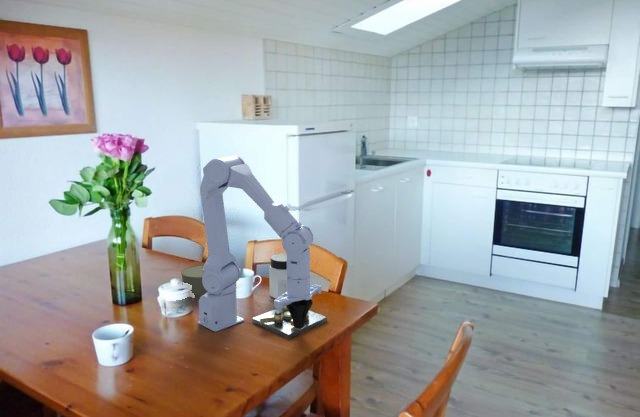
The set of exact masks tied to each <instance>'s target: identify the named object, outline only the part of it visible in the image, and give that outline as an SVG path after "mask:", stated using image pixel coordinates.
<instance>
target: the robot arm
mask: <svg viewBox="0 0 640 417" xmlns="http://www.w3.org/2000/svg"><path fill="white" fill-rule="evenodd" d="M243 159H244V158H242V157H240V156H239V155H237V154H236V155H234V154H232V155H229V156H226V157H221V158H213V159H210V160H209V162H207V163H206V165H205V166H203V168H202V170H203V172H202V174H203V176H202V180H201V183H200V186H199V193H200V201H201V202H200V203H201V207H202V208H201V209H202V215H203V216H202V217H203V222H204V223H203V224H204V231H205V238H206V245H207V252H208V253H207V254H208V257H207V259H206V260H205V262H204V264H203V265H204V275H203V278H202V283H203V286H204V288H205V289H206V290H207V293H206V294H205V295H203V296H201V297H200V299H198V315H199V317H198V318H199V319H198V321H197V323H198V324H199V325H201V326H202V327H203V326H204V327H205V328H207V329H209V330H211V331H213V332H214V333H215V332H219V331H222V330H225V329H227V328H228V327H231V326H234V325H237V324H240V323H241V322H244V321H245V319H244V318H243V317H241V316H239V315H238V309H237V308H238V307H237V306H238V304H237V282H238V281H239V280H240V277H241V269H240V267H239V265H238V263H237V261H236V256H235V255H234V254H232V253H231V251H230V243H229V237H228V236H229V235H228V228H227V227H228V226H227V220H226V213H225V211H226V210H225V205H224V196H223V195H224V192H225V191H227V189H228V188H235V189H241V190H243V192H244V193H245V194H246V195H247V196H248V197H249V198H250V199H251V200H252V201H253V202H254V203H255V204H256V205H257V207H259V208H260V209H261V210H262V211H263V219H264V220H265V222H266V223H267V224H268V225H269V226H270V227H271V229H272V230H273V231H274V232H275V233H276V235H277V236H278V237H279V238H280V239H281V240H282V242H281V245H282V249H283V251H285V253H287V292H286V293H284V294H283V295H282V296H280V297H279V298H277V299H275V298H274V300H273V307H274V308H275V309H282V308H283V307H284V306H286V307H287V308H288V310H289V312H290V314H291V317H292V320H293V324H294V327H296V328H298V329H301V328H303V327H304V323H305V319H306V316H307V313H308V311H309V310H310V309H311V307H312V305H313V300H312V299H313V296H314V295H316V294H317V295H320V294H322V286H321V285H319V284H316V283H315V284H312V285H311V254H310V252H311V245H312V244H313V242H314V235H313V232H312V230H311V229H310V227H308V226H307V225H302V224H303V223H301V222H300V221H298V220H297V219H296V218H295V217H294V216H293V215H292V213H291V212H290V208H289V206H287V205H284V204H283V203H280V202H279V203H278V202H277V203H276V202H275V201H274V200H273V199H272V197H271V196H270V194H269V193H268V192H267V191H266V190H265V188H264V187H263V185H262V184H261V183H260V181H259V180H258V179H257V178H256V176H255V175H254V174H253V172H252V169H251V167H250V165H249V164H247V163H245V161H244V160H243Z"/></svg>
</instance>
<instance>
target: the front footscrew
mask: <svg viewBox="0 0 640 417" xmlns="http://www.w3.org/2000/svg"><path fill="white" fill-rule="evenodd" d="M307 319H309V311H308V313H307V316H306V319H305V320H307ZM291 325H292V326H294V324H293V320H291Z"/></svg>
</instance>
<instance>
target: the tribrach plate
mask: <svg viewBox="0 0 640 417" xmlns="http://www.w3.org/2000/svg"><path fill="white" fill-rule="evenodd" d="M276 311H281V312H282V309H277V308H275V309H272V310H269V311H267V312H265V313H262V314H260V315H257V316H254V317H252V318H251V319H252V322H251V323H253V324H255V325H258V326H260V327H262V328H264V329H266V330H269V331H271V332H272V333H274V334H277V335H279V336H281V337H284V338H286V339H288V340H289V339H291V338H293V337H296V336H297V335H300V334H303V333H305V332H307V331H309V330H312V329H314V328H316V327H318V326H320V325H322V324H324V323H326V322H328V317H327V316H324V315H322V314H321V313H317V312H314V311H312V310H310V309H309V319H307V320H305V323H304V327H303V328H301V329H298V328H296V327H294V326H292V325H291V320H292V317H291V314H290V312H289V311H287V312H282V313H283V322H282V323H275V322H270V323H262V324H261V323H260V317H263V316H271V315H274V313H275V312H276Z"/></svg>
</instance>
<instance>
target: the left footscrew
mask: <svg viewBox="0 0 640 417" xmlns="http://www.w3.org/2000/svg"><path fill="white" fill-rule="evenodd" d="M270 322H275V323H282V322H283V313H282V312H281V311H276V312H275V313H274V315H271V316H263V317H260V323H261V324H262V323H270Z"/></svg>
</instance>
